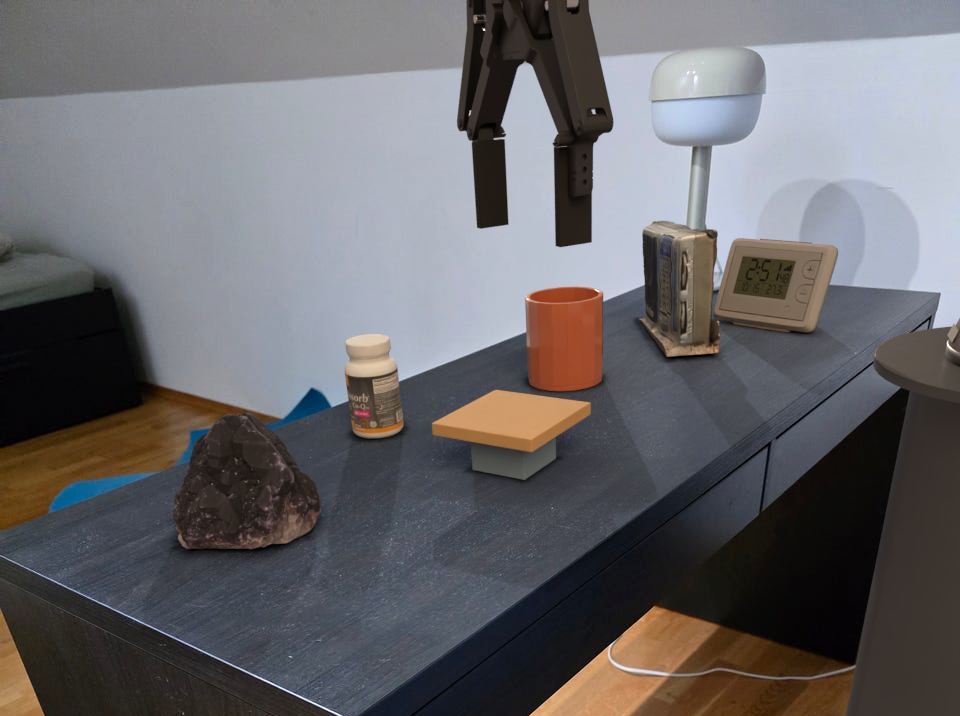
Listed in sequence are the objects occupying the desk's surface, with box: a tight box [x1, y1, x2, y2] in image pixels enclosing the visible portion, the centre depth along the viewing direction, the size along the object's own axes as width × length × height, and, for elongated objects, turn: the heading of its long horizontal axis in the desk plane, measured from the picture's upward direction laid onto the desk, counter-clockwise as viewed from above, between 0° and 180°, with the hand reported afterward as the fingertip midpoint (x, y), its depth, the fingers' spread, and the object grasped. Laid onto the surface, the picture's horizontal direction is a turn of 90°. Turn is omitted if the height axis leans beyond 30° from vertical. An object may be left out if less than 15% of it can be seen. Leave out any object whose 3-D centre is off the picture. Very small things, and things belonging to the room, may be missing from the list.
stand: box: [469, 436, 557, 481], centre depth 85 cm, size 6×6×4 cm
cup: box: [524, 286, 604, 392], centre depth 106 cm, size 9×9×10 cm
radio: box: [638, 220, 721, 358], centre depth 117 cm, size 23×9×15 cm, turn 175°
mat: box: [431, 389, 592, 452], centre depth 84 cm, size 11×11×1 cm
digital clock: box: [713, 237, 839, 333], centre depth 121 cm, size 16×9×11 cm, turn 31°
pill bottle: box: [344, 333, 404, 440], centre depth 94 cm, size 6×6×10 cm
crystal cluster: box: [172, 412, 322, 550], centre depth 76 cm, size 13×14×10 cm
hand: (530, 235), depth 71 cm, fingers open, 13 cm apart
